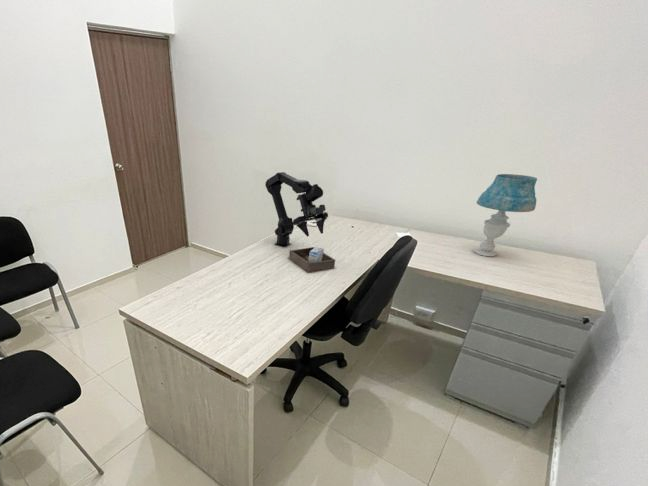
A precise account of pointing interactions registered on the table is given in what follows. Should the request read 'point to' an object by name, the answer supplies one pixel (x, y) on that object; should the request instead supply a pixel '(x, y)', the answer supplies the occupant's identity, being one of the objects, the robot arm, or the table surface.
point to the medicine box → (315, 255)
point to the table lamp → (505, 205)
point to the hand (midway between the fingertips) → (315, 234)
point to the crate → (302, 261)
